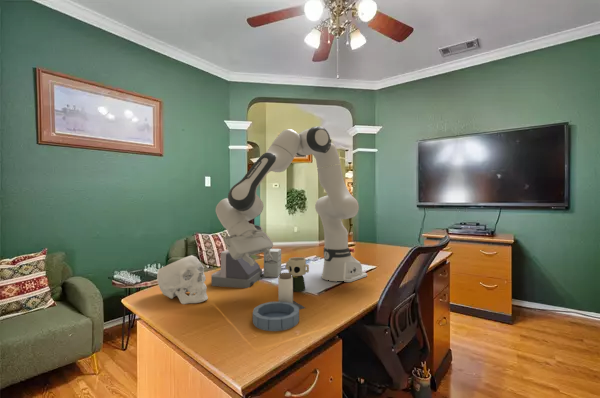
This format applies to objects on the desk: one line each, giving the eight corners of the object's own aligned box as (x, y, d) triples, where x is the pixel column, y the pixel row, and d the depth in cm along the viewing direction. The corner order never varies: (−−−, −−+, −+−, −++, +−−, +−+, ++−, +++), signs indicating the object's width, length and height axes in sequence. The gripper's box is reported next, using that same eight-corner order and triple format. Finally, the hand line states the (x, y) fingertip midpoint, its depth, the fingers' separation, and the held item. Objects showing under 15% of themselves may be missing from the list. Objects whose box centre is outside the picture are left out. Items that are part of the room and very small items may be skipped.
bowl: (284, 309, 97) (284, 298, 97) (307, 324, 85) (307, 312, 85) (246, 318, 90) (246, 307, 90) (265, 337, 78) (265, 324, 78)
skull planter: (194, 304, 97) (176, 253, 101) (160, 321, 105) (145, 273, 109) (223, 292, 109) (205, 247, 113) (190, 308, 117) (175, 266, 121)
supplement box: (263, 277, 136) (263, 250, 136) (267, 273, 144) (267, 248, 144) (278, 277, 135) (277, 251, 135) (281, 273, 142) (281, 248, 142)
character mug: (281, 290, 116) (281, 259, 116) (291, 285, 122) (290, 255, 122) (304, 295, 111) (304, 261, 111) (313, 289, 117) (312, 258, 117)
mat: (290, 300, 105) (290, 299, 105) (305, 308, 97) (305, 307, 97) (266, 306, 100) (266, 304, 100) (280, 315, 92) (280, 314, 92)
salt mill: (288, 302, 102) (288, 271, 102) (295, 307, 98) (295, 274, 98) (276, 305, 99) (275, 273, 99) (283, 310, 95) (282, 277, 95)
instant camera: (233, 273, 145) (232, 243, 145) (269, 277, 137) (268, 246, 137) (205, 285, 125) (204, 251, 125) (245, 290, 117) (245, 254, 117)
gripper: (226, 231, 99) (247, 262, 94) (263, 225, 116) (283, 252, 111) (217, 243, 101) (237, 274, 96) (255, 236, 119) (274, 262, 114)
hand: (262, 262), depth 104 cm, fingers open, 8 cm apart
